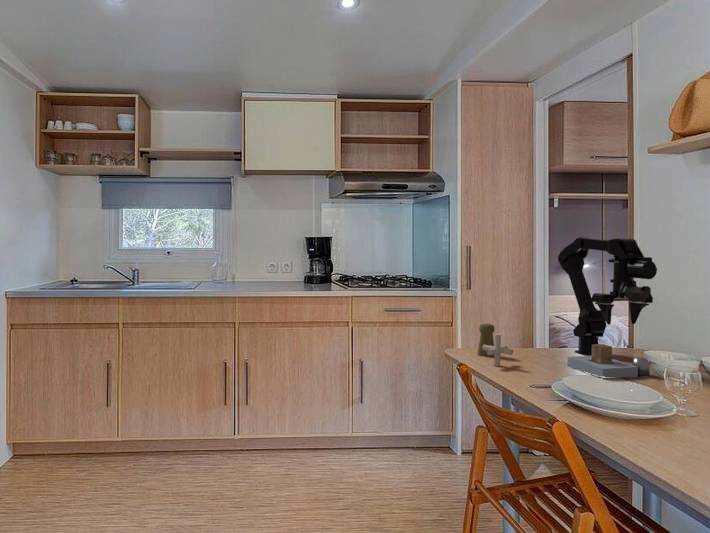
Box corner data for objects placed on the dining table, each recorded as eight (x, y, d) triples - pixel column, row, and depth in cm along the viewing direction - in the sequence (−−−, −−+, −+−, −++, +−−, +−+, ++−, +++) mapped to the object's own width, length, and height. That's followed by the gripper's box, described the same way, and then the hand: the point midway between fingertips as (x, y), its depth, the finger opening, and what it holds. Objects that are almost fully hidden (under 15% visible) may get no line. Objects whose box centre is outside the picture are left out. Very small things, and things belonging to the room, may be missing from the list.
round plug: (628, 373, 154) (629, 357, 154) (641, 372, 155) (642, 356, 155) (640, 377, 150) (640, 360, 150) (653, 376, 151) (653, 359, 151)
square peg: (591, 370, 158) (591, 344, 158) (602, 369, 159) (602, 344, 158) (600, 373, 154) (600, 347, 154) (611, 372, 155) (612, 346, 155)
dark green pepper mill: (481, 352, 182) (481, 321, 182) (497, 354, 179) (498, 323, 178) (474, 355, 178) (475, 324, 177) (491, 357, 174) (492, 325, 174)
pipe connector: (491, 360, 170) (492, 330, 169) (519, 365, 163) (519, 334, 162) (475, 365, 163) (475, 334, 162) (503, 371, 156) (504, 338, 155)
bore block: (567, 366, 163) (567, 356, 163) (599, 364, 166) (600, 355, 165) (602, 379, 147) (602, 368, 147) (637, 377, 150) (637, 366, 150)
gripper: (614, 279, 157) (612, 329, 158) (667, 278, 160) (664, 327, 161) (591, 276, 168) (589, 323, 169) (641, 276, 171) (639, 322, 172)
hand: (621, 324), depth 167 cm, fingers open, 9 cm apart
